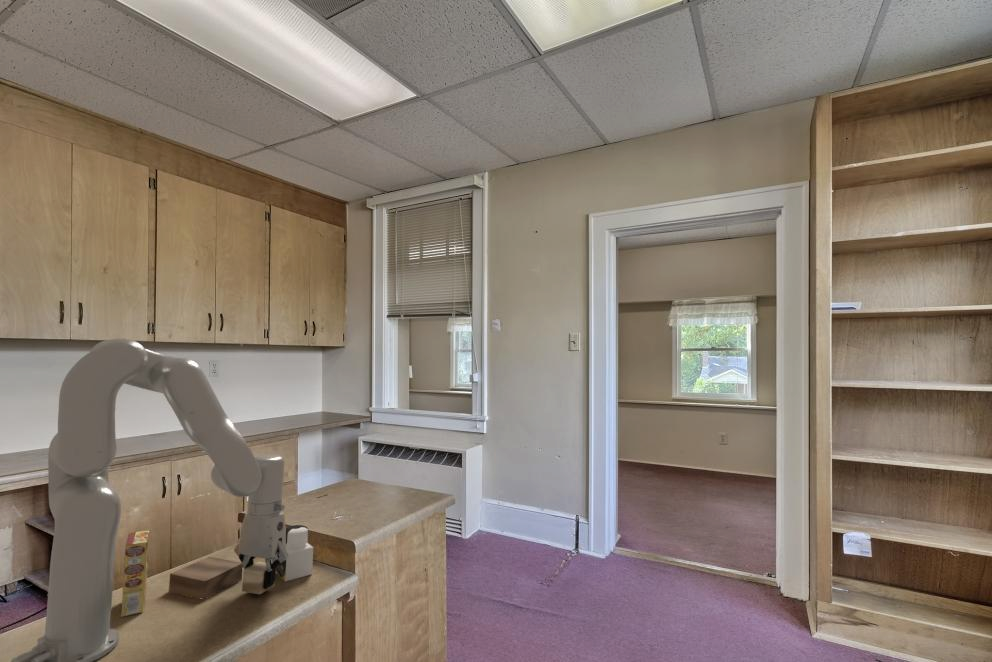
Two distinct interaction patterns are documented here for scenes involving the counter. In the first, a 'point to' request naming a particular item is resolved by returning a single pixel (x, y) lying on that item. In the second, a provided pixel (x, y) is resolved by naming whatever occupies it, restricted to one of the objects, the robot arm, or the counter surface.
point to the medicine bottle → (296, 554)
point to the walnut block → (205, 577)
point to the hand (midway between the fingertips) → (258, 583)
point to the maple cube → (254, 578)
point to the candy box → (135, 573)
